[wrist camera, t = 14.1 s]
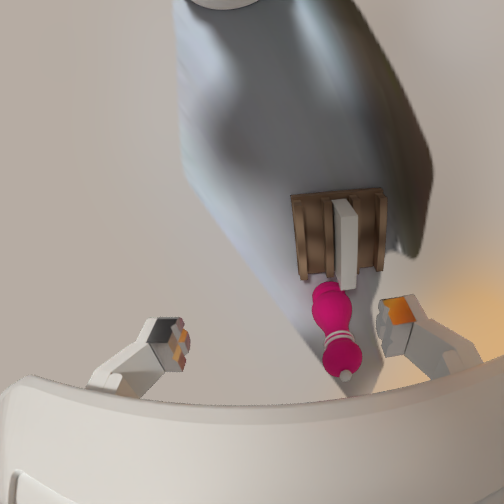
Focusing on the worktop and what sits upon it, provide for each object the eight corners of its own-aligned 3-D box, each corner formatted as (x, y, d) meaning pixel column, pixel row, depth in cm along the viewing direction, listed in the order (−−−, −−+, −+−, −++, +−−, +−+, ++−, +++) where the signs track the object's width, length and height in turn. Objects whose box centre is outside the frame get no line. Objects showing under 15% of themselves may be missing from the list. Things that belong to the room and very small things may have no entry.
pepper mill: (312, 311, 54) (323, 397, 37) (307, 282, 51) (318, 371, 34) (347, 304, 53) (370, 388, 36) (345, 275, 50) (372, 360, 32)
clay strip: (331, 199, 42) (340, 217, 36) (346, 198, 42) (357, 215, 36) (333, 266, 48) (340, 290, 42) (346, 264, 47) (355, 288, 41)
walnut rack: (290, 195, 43) (292, 203, 40) (380, 187, 41) (388, 194, 38) (298, 271, 50) (299, 283, 47) (377, 262, 48) (383, 273, 45)
